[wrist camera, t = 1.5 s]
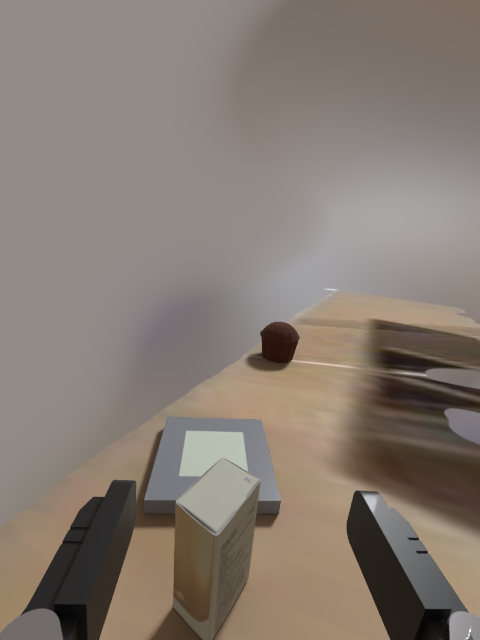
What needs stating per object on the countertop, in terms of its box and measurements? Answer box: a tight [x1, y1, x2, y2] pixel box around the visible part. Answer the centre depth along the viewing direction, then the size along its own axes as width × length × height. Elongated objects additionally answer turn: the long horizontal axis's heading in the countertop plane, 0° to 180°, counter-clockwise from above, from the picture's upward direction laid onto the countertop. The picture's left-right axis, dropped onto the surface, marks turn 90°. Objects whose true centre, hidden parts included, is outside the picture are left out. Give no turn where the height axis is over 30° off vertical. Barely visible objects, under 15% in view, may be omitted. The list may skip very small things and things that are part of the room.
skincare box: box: [173, 458, 261, 640], centre depth 25 cm, size 6×4×12 cm
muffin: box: [260, 322, 300, 363], centre depth 82 cm, size 12×11×10 cm
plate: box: [144, 417, 281, 514], centre depth 41 cm, size 16×16×2 cm
